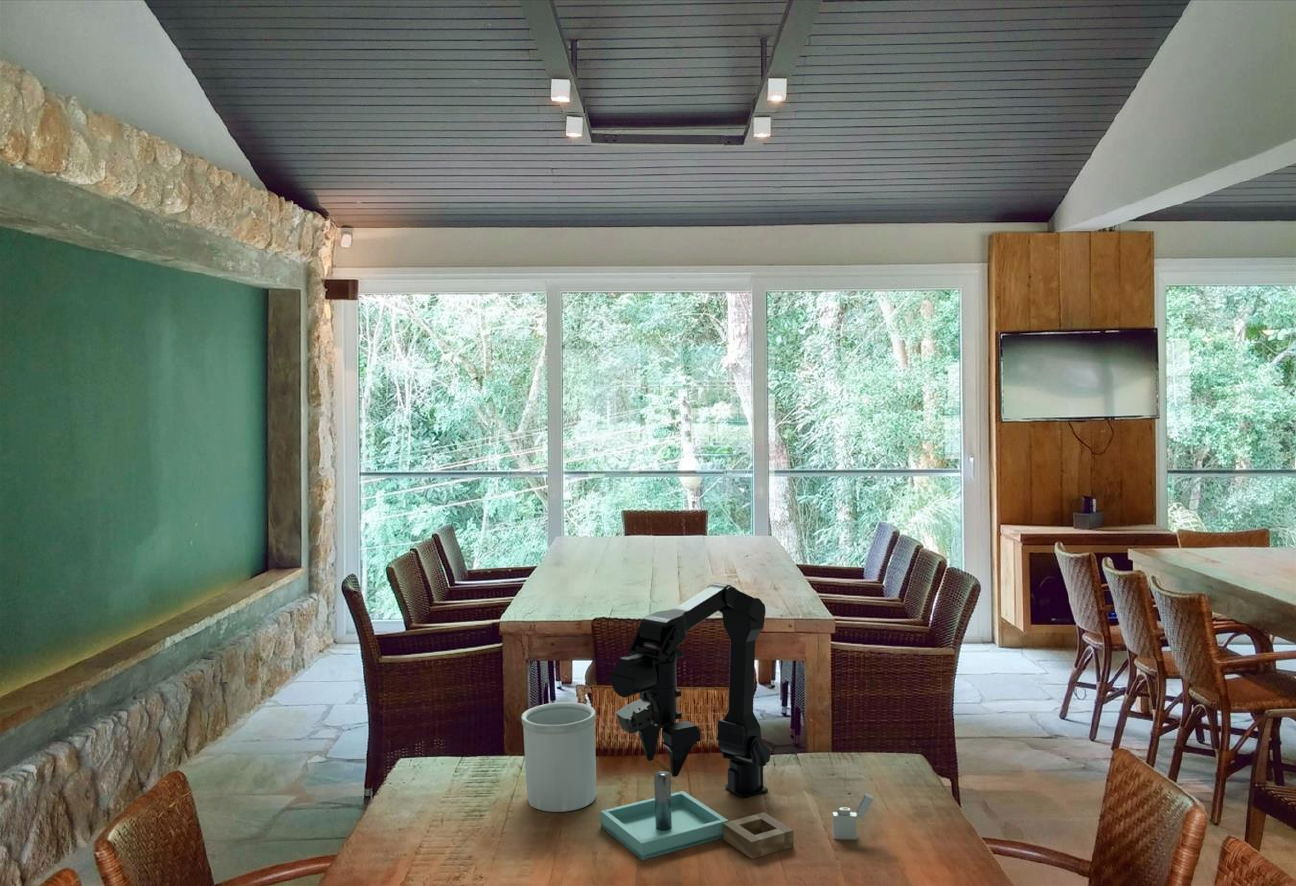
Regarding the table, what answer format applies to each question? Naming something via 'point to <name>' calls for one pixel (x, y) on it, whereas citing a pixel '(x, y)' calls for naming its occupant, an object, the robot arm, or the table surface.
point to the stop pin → (663, 800)
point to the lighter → (849, 819)
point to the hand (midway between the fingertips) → (662, 768)
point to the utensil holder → (560, 756)
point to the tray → (646, 841)
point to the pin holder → (758, 835)
